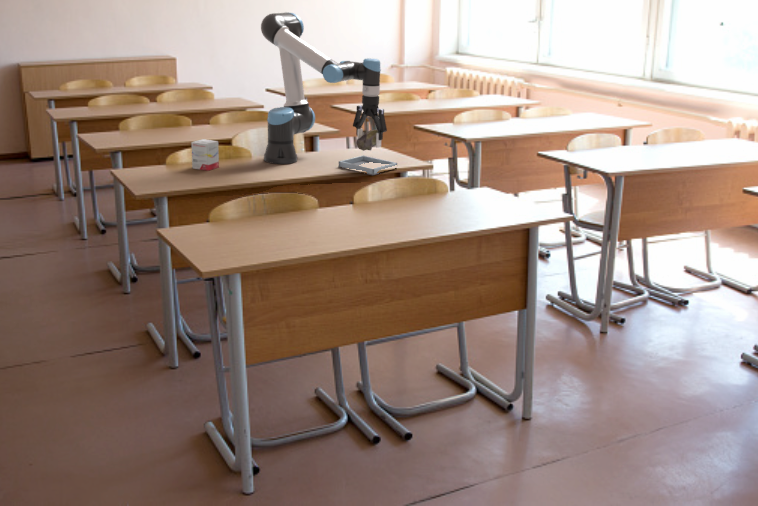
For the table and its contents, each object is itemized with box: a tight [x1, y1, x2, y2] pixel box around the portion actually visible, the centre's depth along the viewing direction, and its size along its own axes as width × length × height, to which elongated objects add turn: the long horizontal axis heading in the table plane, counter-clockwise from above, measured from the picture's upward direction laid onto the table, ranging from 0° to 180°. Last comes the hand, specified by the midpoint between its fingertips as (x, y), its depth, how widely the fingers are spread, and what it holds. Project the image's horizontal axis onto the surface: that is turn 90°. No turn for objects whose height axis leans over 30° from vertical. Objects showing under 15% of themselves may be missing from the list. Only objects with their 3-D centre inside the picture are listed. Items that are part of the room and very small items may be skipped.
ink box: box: [190, 138, 220, 171], centre depth 362 cm, size 9×9×12 cm
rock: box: [356, 129, 378, 152], centre depth 372 cm, size 11×10×10 cm
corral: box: [338, 155, 398, 176], centre depth 376 cm, size 20×18×3 cm
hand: (369, 145), depth 373 cm, fingers closed on rock, 10 cm apart
